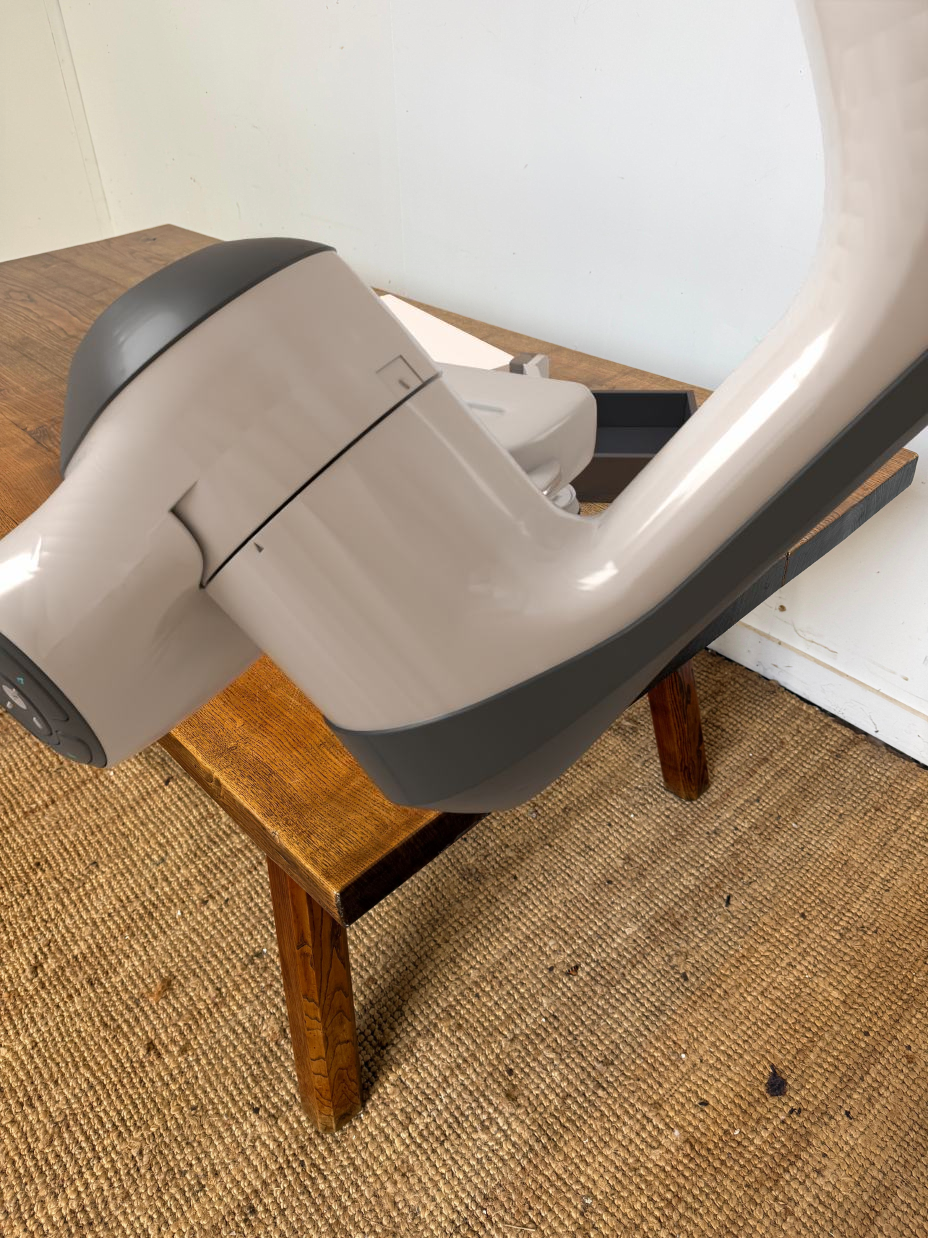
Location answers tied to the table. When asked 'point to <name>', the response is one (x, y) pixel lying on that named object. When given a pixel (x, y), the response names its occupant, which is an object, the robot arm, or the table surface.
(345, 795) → the table surface
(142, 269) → the table surface
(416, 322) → the board
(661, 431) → the open box
